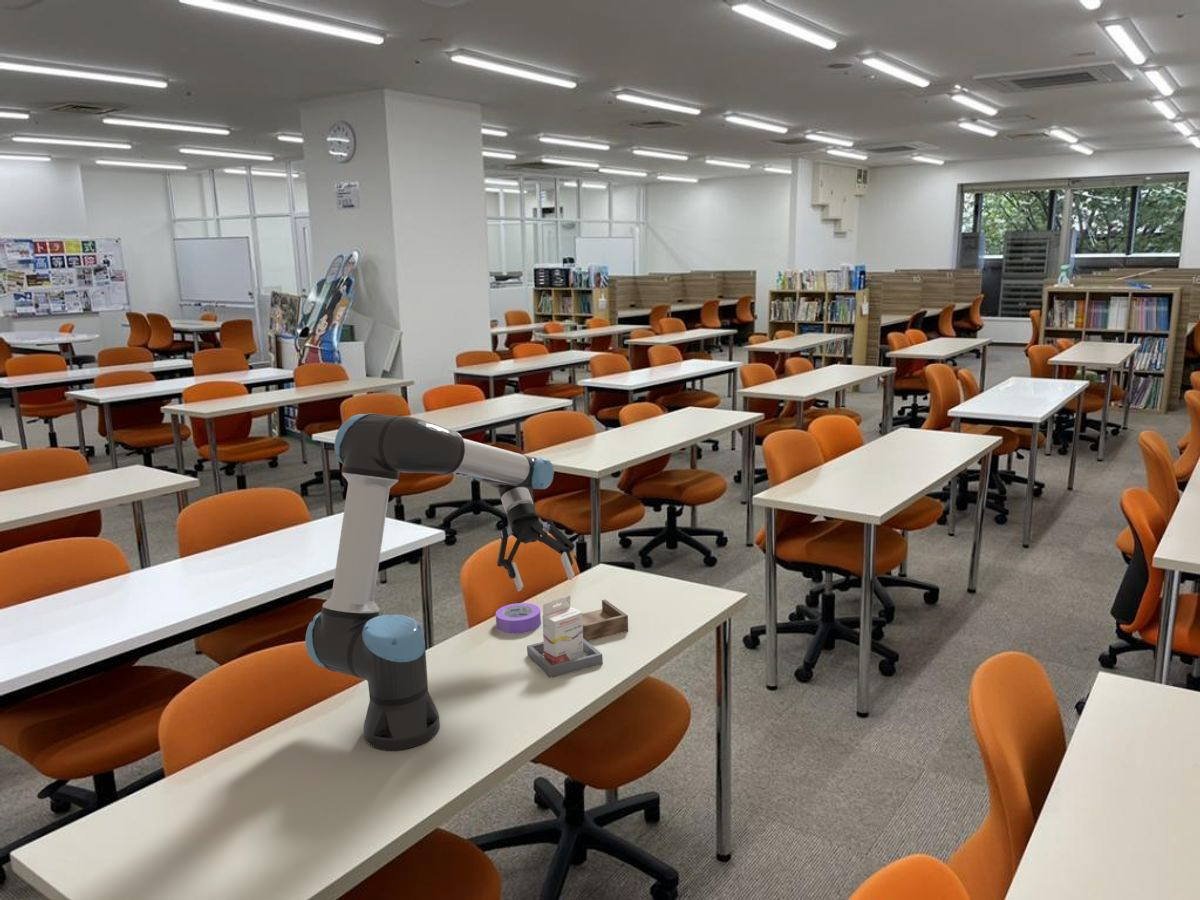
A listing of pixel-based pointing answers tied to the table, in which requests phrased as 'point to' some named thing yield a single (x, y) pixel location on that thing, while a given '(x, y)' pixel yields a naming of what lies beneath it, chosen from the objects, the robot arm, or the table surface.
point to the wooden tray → (604, 622)
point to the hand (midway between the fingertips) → (546, 583)
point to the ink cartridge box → (562, 632)
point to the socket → (568, 666)
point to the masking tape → (518, 618)
